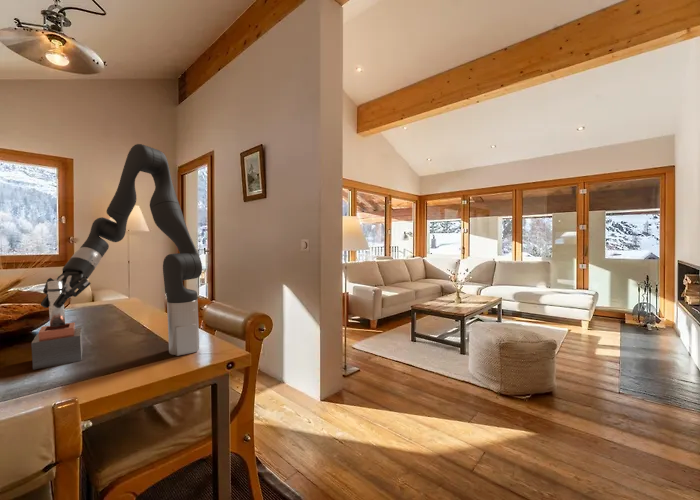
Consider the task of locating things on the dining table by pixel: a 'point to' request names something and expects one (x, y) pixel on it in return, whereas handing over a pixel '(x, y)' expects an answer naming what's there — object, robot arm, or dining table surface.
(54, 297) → the steel tube
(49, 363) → the block
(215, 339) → the dining table surface
